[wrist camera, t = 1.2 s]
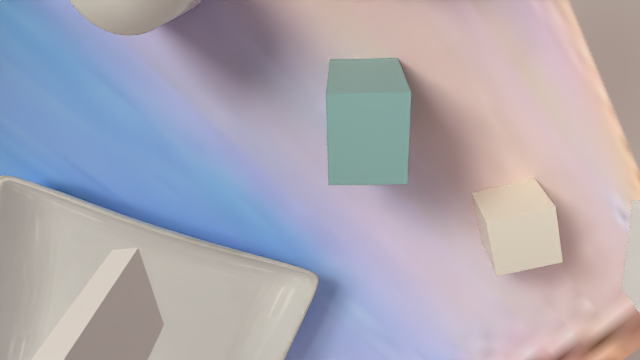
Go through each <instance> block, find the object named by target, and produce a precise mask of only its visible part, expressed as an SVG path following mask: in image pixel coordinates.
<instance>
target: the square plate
mask: <svg viewBox="0 0 640 360" xmlns="http://www.w3.org/2000/svg"><path fill="white" fill-rule="evenodd" d="M128 248H139V251H140V254H141V257H142V260H143V263H144V266H145V269H146V272H147V275H148V278H149V281H150V284H151V287H152V290H153V293H154V296H155V299H156V302H157V305H158V308H159V311H160V314H161V317H162V320H163V323H164V326H163V328H162V331H161V333H160V335H159V337H158V339H157V341H156V343H155V345H154V348H153V350H152V352H151V354H150V356H149V358H148V360H285V358H286V356H287V354H288V351H289V349H290V347H291V345H292V343H293V340H294V339H295V337H296V334H297V333H298V330H299V328H300V326H301V324H302V321H303V319H304V317H305V315H306V313H307V310H308V308H309V306H310V304H311V302H312V300H313V297H314V295H315V292H316V290H317V287H318V284H319V277H318V276H317V275H316V274H315V273H313V272H311V271H309V270H306V269H303V268H300V267H297V266H294V265H291V264H288V263H284V262H280V261H276V260H273V259H269V258H265V257H261V256H258V255H254V254H251V253H247V252H243V251H240V250H236V249H233V248H229V247H225V246H222V245H218V244H215V243H212V242H208V241H205V240H201V239H198V238H194V237H191V236H188V235H185V234H181V233H178V232H175V231H172V230H169V229H165V228H162V227H159V226H156V225H153V224H150V223H147V222H144V221H141V220H138V219H135V218H132V217H129V216H126V215H123V214H120V213H118V212H115V211H112V210H109V209H107V208H104V207H101V206H98V205H96V204H93V203H90V202H87V201H85V200H82V199H79V198H76V197H74V196H71V195H69V194H66V193H63V192H60V191H57V190H54V189H51V188H47V187H44V186H42V185H39V184H36V183H33V182H30V181H27V180H24V179H20V178H16V177H12V176H8V175H3V176H0V360H31V359H32V358H33V356H34V355H35V354H36V352H37V351H38V350H39V348H40V347H41V346H42V344H43V343H44V341H45V340H46V339H47V337H48V336H49V335H50V333H51V332H52V331H53V329H54V328H55V327H56V325H57V324H58V323H59V321H60V320H61V319H62V317H63V316H64V314H65V313H66V312H67V310H68V309H69V308H70V306H71V305H72V304H73V302H74V301H75V300H76V298H77V297H78V296H79V294H80V293H81V292H82V290H83V289H84V287H85V286H86V285H87V283H88V282H89V281H90V279H91V278H92V277H93V275H94V274H95V273H96V271H97V270H98V269H99V267H100V266H101V265H102V263H103V262H104V260H105V259H106V258H107V256H108V255H109V254H110V252H111V251H112V250H117V249H128Z"/></svg>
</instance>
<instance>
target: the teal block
mask: <svg viewBox="0 0 640 360" xmlns="http://www.w3.org/2000/svg"><path fill="white" fill-rule="evenodd" d="M326 110H327V145H328V180H329V185H384V184H407V180H408V157H409V134H410V111H411V90H410V88H409V85H408V83H407V80H406V78H405V75H404V73H403V70H402V68H401V65H400V63H399V60H398V58H378V59H334V60H330V64H329V73H328V81H327V90H326Z"/></svg>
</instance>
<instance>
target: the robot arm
mask: <svg viewBox="0 0 640 360" xmlns="http://www.w3.org/2000/svg"><path fill="white" fill-rule="evenodd" d="M622 290H623V291H624V293H625V294H626V295H627V297H628V298H629V299H630V301H631V302H632V303H633V305H634V306H635V307H636V309H637V310H638V311H639V313H640V200H633V201H632V209H631V217H630V225H629V233H628V241H627V249H626V257H625V265H624V273H623V281H622ZM163 326H164V323H163V320H162V317H161V314H160V311H159V308H158V305H157V302H156V299H155V296H154V293H153V290H152V287H151V284H150V281H149V278H148V275H147V272H146V269H145V266H144V263H143V260H142V257H141V254H140V251H139V248H128V249H117V250H112V251H111V252H110V254H109V255H108V256H107V258H106V259H105V260H104V262H103V263H102V265H101V266H100V267H99V269H98V270H97V271H96V273H95V274H94V275H93V277H92V278H91V279H90V281H89V282H88V283H87V285H86V286H85V287H84V289H83V290H82V292H81V293H80V294H79V296H78V297H77V298H76V300H75V301H74V302H73V304H72V305H71V306H70V308H69V309H68V310H67V312H66V313H65V314H64V316H63V317H62V319H61V320H60V321H59V323H58V324H57V325H56V327H55V328H54V329H53V331H52V332H51V333H50V335H49V336H48V337H47V339H46V340H45V341H44V343H43V344H42V346H41V347H40V348H39V350H38V351H37V352H36V354H35V355H34V356H33V358H32V359H31V360H148V358H149V356H150V354H151V352H152V350H153V348H154V345H155V343H156V341H157V339H158V337H159V335H160V333H161V331H162V328H163Z"/></svg>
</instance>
